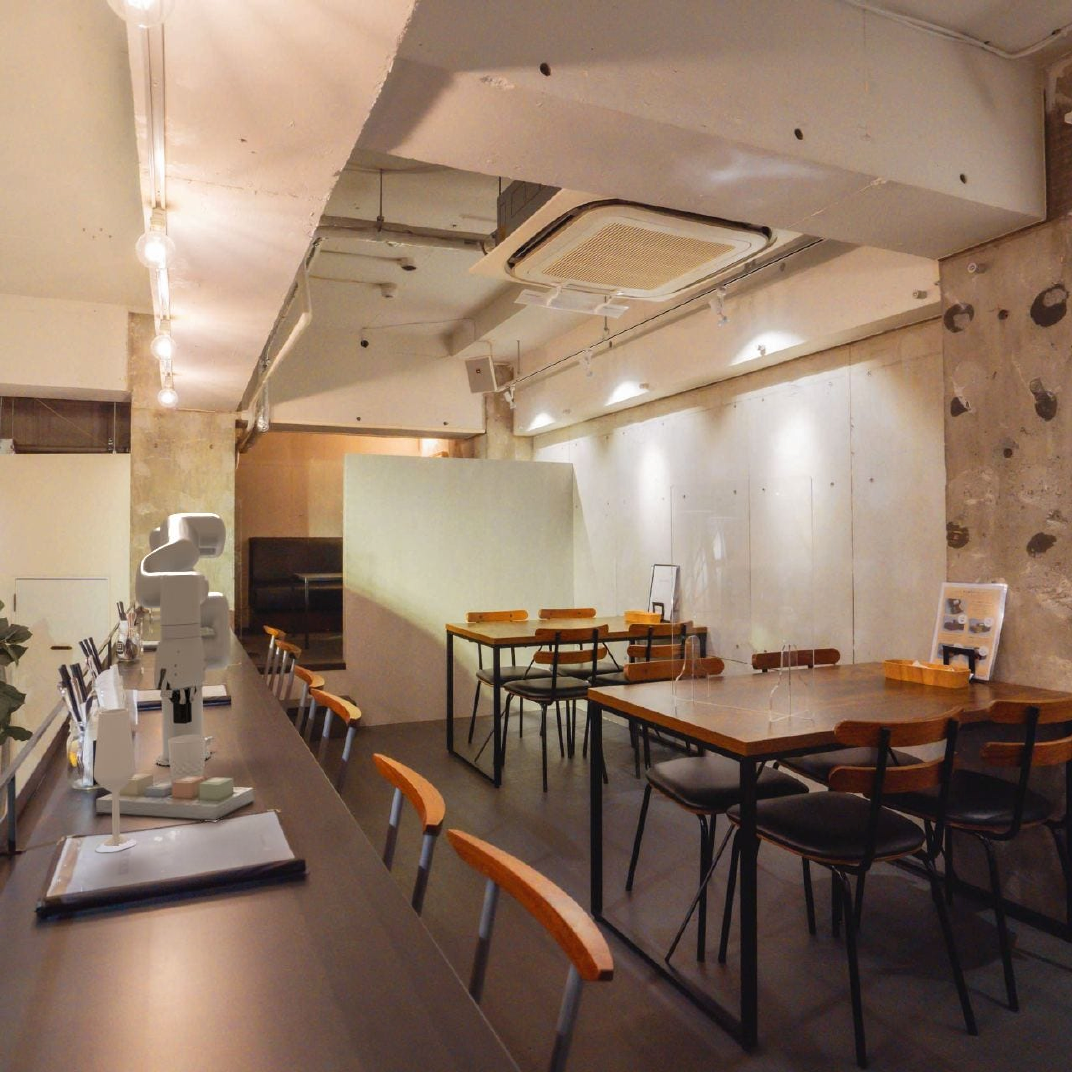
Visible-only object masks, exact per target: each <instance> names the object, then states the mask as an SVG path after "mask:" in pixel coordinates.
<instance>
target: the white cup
mask: <svg viewBox="0 0 1072 1072" xmlns="http://www.w3.org/2000/svg"><path fill="white" fill-rule="evenodd" d="M205 738H206V735H205V734H203V735H200V734H191V735H182V736H177V737H173V738H171V739H169V740H168V750H169V763H170V766H169V771H170V783H172V782H174V781H176V780H179V779H181V778H184V777H186V776H198V777H205V776H204V774H205V765H206V764H205V761H206V759H205V748H206V747H205Z"/></svg>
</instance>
